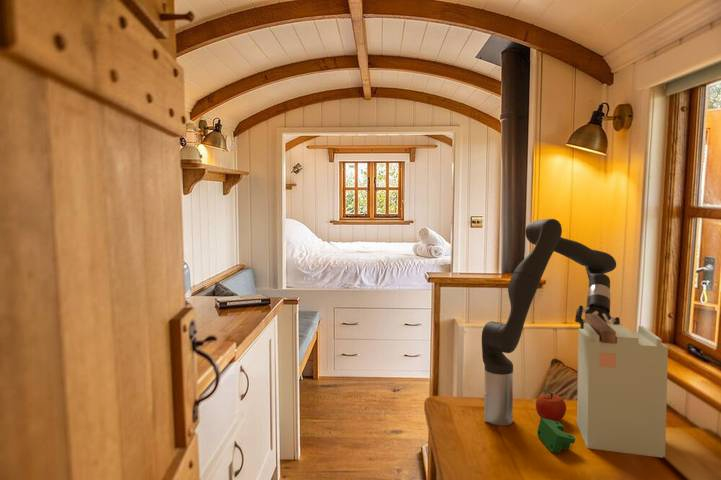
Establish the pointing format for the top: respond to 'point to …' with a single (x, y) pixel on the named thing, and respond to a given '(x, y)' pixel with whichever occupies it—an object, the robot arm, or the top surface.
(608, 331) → the walnut bar
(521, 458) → the top surface
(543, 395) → the fruit
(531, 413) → the top surface
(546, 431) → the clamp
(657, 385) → the rail stand
